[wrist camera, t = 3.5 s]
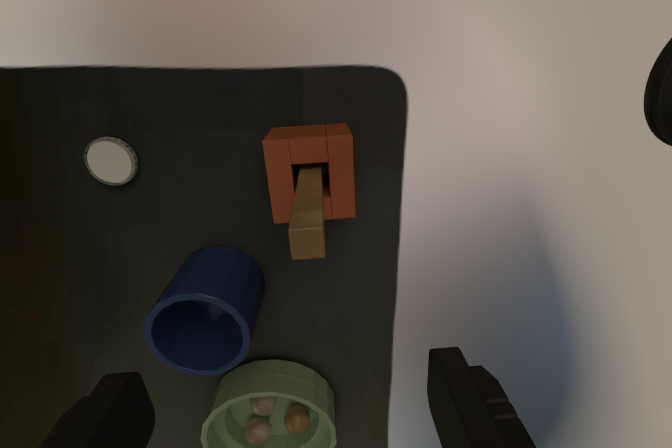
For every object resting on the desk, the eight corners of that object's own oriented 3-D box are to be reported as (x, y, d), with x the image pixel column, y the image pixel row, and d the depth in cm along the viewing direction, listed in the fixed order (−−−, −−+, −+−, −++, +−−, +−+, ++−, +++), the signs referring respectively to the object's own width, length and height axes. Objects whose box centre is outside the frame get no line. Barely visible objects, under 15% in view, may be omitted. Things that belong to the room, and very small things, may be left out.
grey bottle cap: (79, 143, 29) (74, 145, 29) (124, 131, 29) (120, 132, 29) (103, 188, 31) (99, 190, 30) (146, 177, 31) (143, 179, 30)
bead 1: (276, 378, 40) (273, 401, 37) (279, 397, 41) (277, 420, 39) (249, 380, 40) (244, 403, 37) (254, 399, 41) (249, 423, 38)
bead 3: (309, 397, 42) (308, 420, 39) (311, 415, 43) (311, 439, 40) (283, 399, 41) (281, 423, 39) (286, 417, 43) (284, 441, 40)
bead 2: (270, 408, 42) (267, 432, 39) (274, 426, 43) (270, 450, 40) (245, 410, 42) (240, 434, 39) (249, 428, 43) (244, 452, 40)
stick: (321, 151, 31) (322, 227, 16) (322, 169, 31) (325, 258, 17) (302, 152, 31) (287, 229, 16) (304, 171, 31) (291, 260, 17)
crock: (257, 242, 34) (240, 290, 27) (269, 312, 37) (257, 371, 30) (171, 248, 34) (130, 298, 26) (190, 318, 37) (159, 379, 30)
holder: (346, 122, 30) (352, 134, 24) (349, 192, 32) (356, 218, 27) (272, 127, 30) (262, 140, 24) (281, 197, 32) (273, 224, 27)
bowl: (330, 350, 40) (331, 387, 35) (337, 436, 45) (340, 477, 41) (202, 360, 39) (187, 398, 35) (226, 445, 45) (215, 488, 40)
